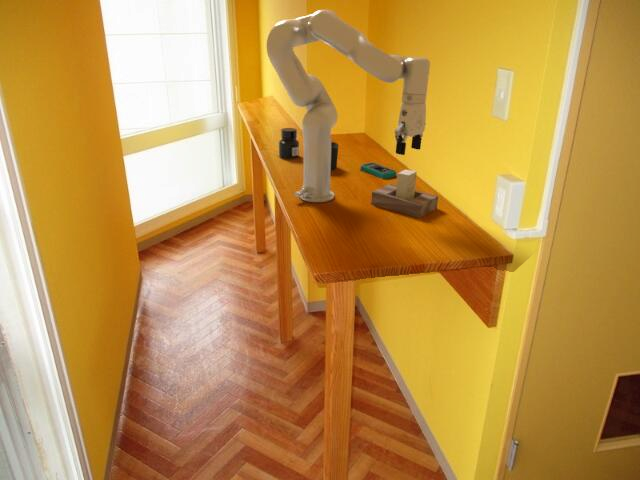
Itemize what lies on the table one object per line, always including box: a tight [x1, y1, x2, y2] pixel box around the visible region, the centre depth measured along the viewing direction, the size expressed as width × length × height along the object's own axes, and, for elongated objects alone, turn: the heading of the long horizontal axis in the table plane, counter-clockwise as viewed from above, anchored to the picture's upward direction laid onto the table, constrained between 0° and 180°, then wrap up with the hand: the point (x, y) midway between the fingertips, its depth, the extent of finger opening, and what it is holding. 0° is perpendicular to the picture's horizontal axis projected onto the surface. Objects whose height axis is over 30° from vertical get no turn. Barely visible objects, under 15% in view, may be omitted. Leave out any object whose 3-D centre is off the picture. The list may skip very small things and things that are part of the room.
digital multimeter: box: [360, 162, 397, 180], centre depth 218 cm, size 7×15×3 cm, turn 37°
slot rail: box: [370, 183, 439, 219], centre depth 183 cm, size 12×19×4 cm, turn 50°
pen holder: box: [331, 141, 339, 171], centre depth 221 cm, size 9×9×10 cm
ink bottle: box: [278, 127, 300, 159], centre depth 236 cm, size 10×9×12 cm
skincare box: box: [396, 169, 417, 200], centre depth 182 cm, size 6×4×12 cm
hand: (408, 151), depth 176 cm, fingers open, 9 cm apart
